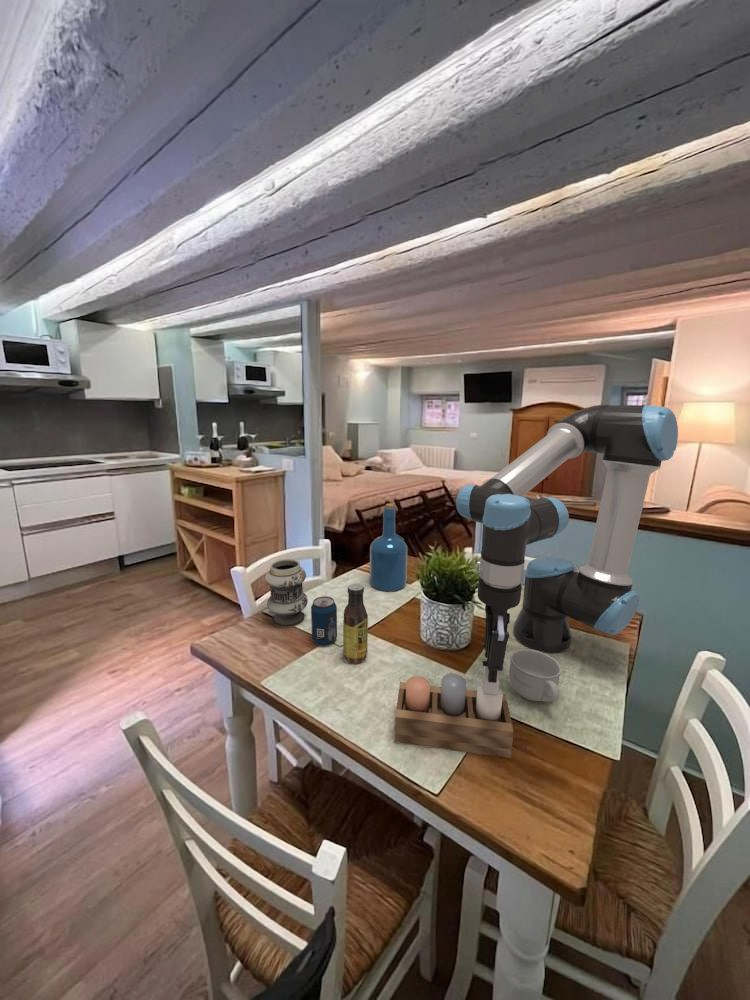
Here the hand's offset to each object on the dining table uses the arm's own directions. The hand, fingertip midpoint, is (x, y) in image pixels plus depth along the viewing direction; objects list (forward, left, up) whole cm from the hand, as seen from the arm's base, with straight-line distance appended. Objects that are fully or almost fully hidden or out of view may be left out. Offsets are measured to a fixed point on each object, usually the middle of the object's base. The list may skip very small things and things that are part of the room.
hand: (489, 691), depth 79 cm
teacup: (-12, -13, -10) cm, 21 cm away
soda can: (+41, -26, -10) cm, 50 cm away
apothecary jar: (+55, -35, -10) cm, 66 cm away
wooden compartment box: (+7, 0, -10) cm, 12 cm away
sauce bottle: (+31, -20, -10) cm, 38 cm away
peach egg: (+14, 0, -6) cm, 15 cm away
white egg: (0, 0, -6) cm, 6 cm away
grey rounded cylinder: (+7, 0, -5) cm, 8 cm away
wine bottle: (+28, -64, -10) cm, 71 cm away
